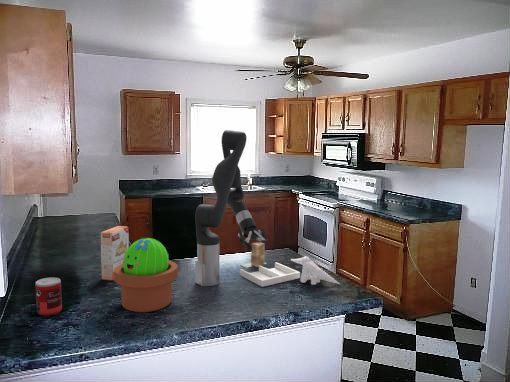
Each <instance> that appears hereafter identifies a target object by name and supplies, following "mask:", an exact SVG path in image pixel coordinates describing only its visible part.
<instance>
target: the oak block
mask: <svg viewBox="0 0 510 382" xmlns="http://www.w3.org/2000/svg"><path fill="white" fill-rule="evenodd" d="M250 245H251V247H252V251H251V252H250V253H251V255H250V260H251V261H250V263H251V267H256V268H259V266H260V265H261V266H263V267H265V264H264V262H265V256H266V255H265V253H266V252H265V250H266V249H265V244H264V243H261V242H260V241H256V242H251V244H250Z"/></svg>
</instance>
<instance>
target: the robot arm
mask: <svg viewBox="0 0 510 382" xmlns="http://www.w3.org/2000/svg"><path fill="white" fill-rule="evenodd" d="M247 140H248V139H247V134H246V133H245V132H243V131H240V130H234V129H233V130H232V129H226V130H224V131H223V133H222V135H221V149H222V154H223V160H222V161H220V162H219V163H218V164H216V167H215V169H214V171H213V175H212V176H211V183H212V185H213V189H214V191H215V194H216V197H217V198H216V203H215V204H204V203H203V204H202V203H201V204H199V205H198V206H197V207H196V210H195V212H194V213H195V216H194V221H195V235H196V243H197V244H196V246H197V249H196V253H197V254H196V256H197V258H196V259H197V260H195V270H194V271H195V283H196V284H198V285H199V286H200V287H213V286H217V285H219V284H220V236H219V235H218V234H216V233H214V232H213V231H211V230H210V229H209V228H220V227H221V226H222V223H223V221H224V217H225V215H226V214H225V212H226V207H227V205H228V207H230V210H231V211H232V212H233V214H234V216H235V218H236V223H237V224H238V226H239V228H240V230H241V231H239V232H238V234H237V238H238V240H239V242H240V245H241V246H243V245H244V246H245V247H246V249H247V252H250V253H251V251H252V247H251V244H250V241H252V240H253V241H256V242H261V243H264V244H265V250H267V248H268V244H267V242H266V241H267V240H268V236H267V234H266V232H265V230H264V229H263V228H261V229H257V225H256V222H255V220H254V218H253V217H252V214H251V213H250V211H249V208H248V207H247V205H246V203H245V202H243V201H242V200H244V198H245V193H244V190H243V187H242V183H241V170H240V167H239V162H240V160H241V157H242V155H243V153H244V151H245V148H246V144H247ZM231 151H232V152H231Z"/></svg>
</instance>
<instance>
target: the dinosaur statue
mask: <svg viewBox="0 0 510 382" xmlns="http://www.w3.org/2000/svg"><path fill="white" fill-rule="evenodd" d="M290 261H291V262H294V263H296V264H298V265H301V266H302V269H301V273H300V278H299V279H300V283H302V284H303V283H306V282H307V281H310V284H311V285H317V284H319V283H320V282H321V280H322V281H325V282H329V283H334V284H338V285H341V283H340V282H339V281H337V280H336V279H335V278H334V277H332V276H331V275H330V274H328V273H327V272H326V270H323V268H322V267H321V268H320V267H319V266H318V265H317V263H315V262H314V261H313V260H311V259H310V257H309V256H306V255H304V256H302V257H300V258H290Z"/></svg>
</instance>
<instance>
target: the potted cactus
mask: <svg viewBox="0 0 510 382" xmlns="http://www.w3.org/2000/svg"><path fill="white" fill-rule="evenodd" d="M178 269H179V267H178V264H177V263H176V262H174V261H172V260H170V259H169V253H168V251H167V249H166V247H165V246H164V243H163V244H162V242H160V241H159V240H157V239H155V238H151V237H143V236H142V237H140V239H136V240H135V241H134V242H133V243H132V244H130V245H129V248H128V249H127V251H126V253H125V256H124V259H123V264H121V265H119V266H117V267H116V268H115V269H114V280H113V281H114V282H115V283H116V284H117V285H119V286H120V289H121V294H120V295H121V306H122V307H123V308H124V309H125V310H128V311H131V312H135V313H150V312H155V311H159V310H161V309H164V308H165V307H167V306H169V305H170V304H171V303H172V299H173V298H172V297H173V295H172V294H173V293H172V289H173V288H172V282H173V281H175V280H176V279H177V278H178V276H179V273H178V272H179V271H178Z"/></svg>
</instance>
